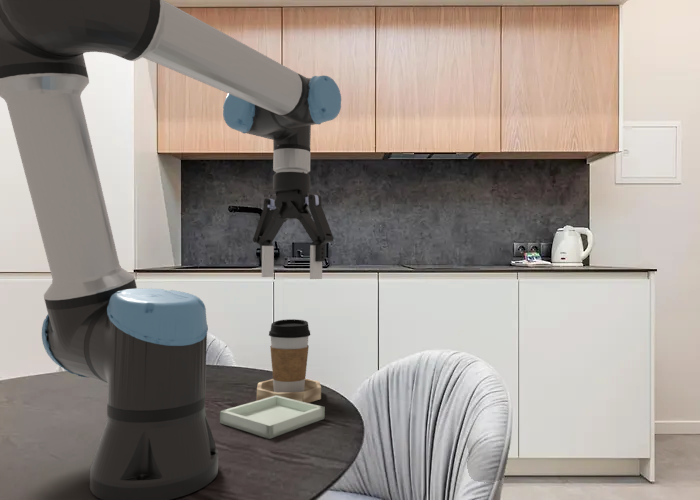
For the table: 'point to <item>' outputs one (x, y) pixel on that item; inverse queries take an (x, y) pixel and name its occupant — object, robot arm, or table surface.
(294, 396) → the holder ring
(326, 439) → the table surface
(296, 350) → the coffee cup
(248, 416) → the tray
